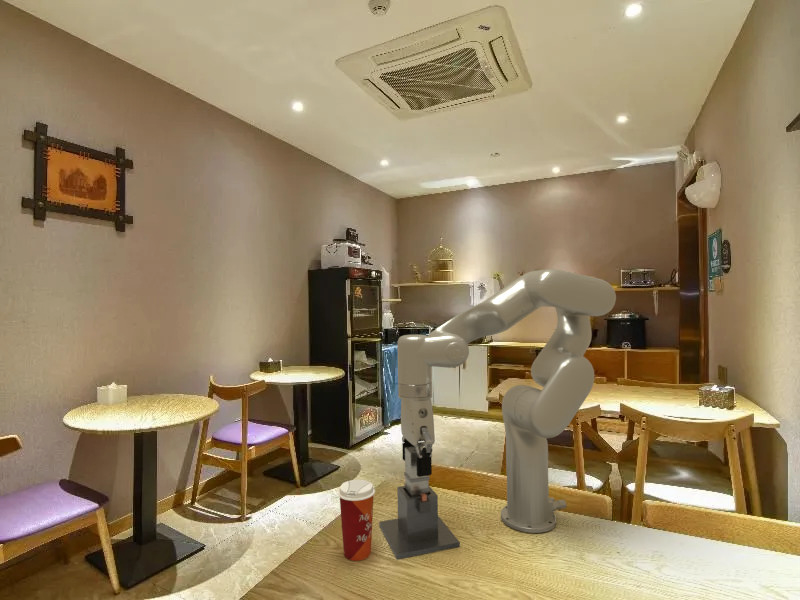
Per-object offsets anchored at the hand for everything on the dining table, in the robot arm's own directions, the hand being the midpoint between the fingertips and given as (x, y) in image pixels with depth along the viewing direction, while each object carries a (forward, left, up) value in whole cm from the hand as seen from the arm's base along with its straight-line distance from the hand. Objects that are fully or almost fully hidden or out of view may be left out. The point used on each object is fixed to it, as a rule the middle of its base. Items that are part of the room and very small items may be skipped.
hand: (416, 467), depth 97 cm
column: (0, 0, -14) cm, 14 cm away
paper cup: (+14, +2, -16) cm, 21 cm away
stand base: (0, 0, -15) cm, 15 cm away
